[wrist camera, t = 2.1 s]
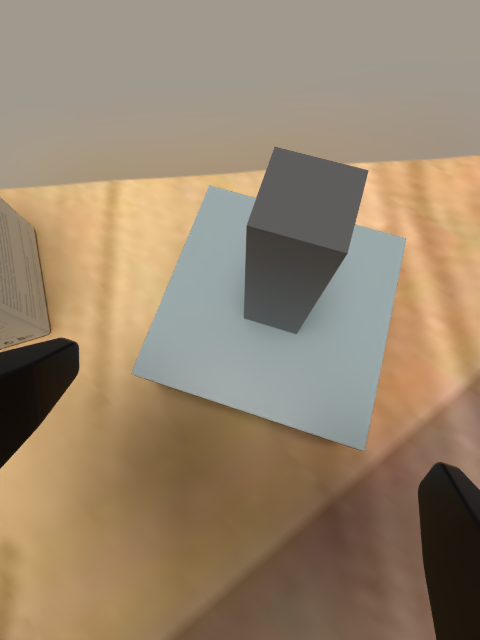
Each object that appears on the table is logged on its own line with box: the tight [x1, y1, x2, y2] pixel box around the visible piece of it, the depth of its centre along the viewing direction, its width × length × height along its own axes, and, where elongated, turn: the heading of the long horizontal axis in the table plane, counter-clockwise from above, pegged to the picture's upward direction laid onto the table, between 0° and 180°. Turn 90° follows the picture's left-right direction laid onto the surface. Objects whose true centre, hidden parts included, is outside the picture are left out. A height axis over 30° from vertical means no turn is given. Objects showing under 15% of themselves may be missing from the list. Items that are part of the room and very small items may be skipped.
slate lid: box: [131, 147, 406, 451], centre depth 15 cm, size 12×12×11 cm
